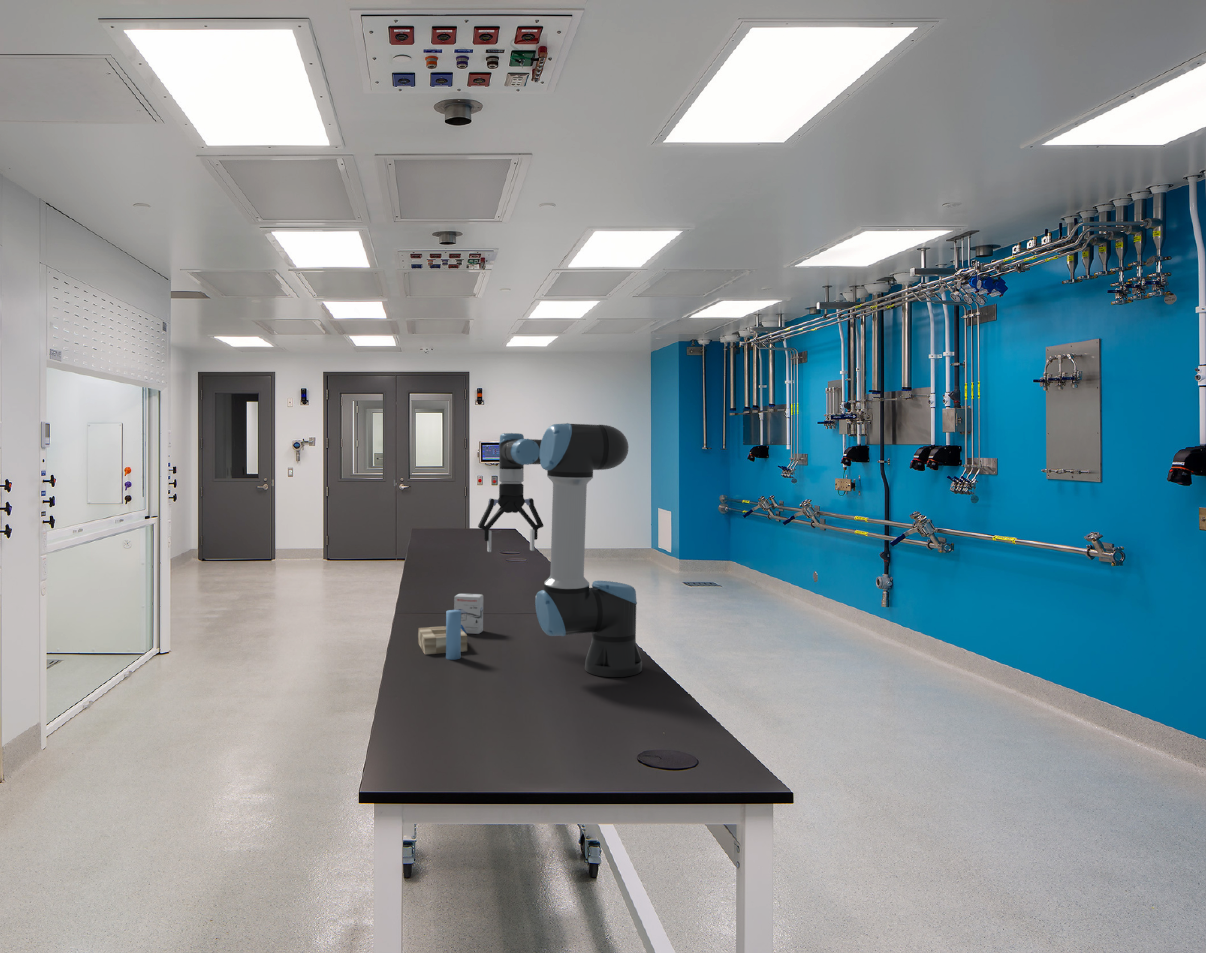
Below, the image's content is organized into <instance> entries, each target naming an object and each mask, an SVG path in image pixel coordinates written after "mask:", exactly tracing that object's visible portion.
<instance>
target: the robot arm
mask: <svg viewBox="0 0 1206 953" xmlns="http://www.w3.org/2000/svg"><path fill="white" fill-rule="evenodd" d="M498 447H499V453H498V454H499V460H498V461H499V462H498V463H499V467H498V468H499V478H498V480H499V482H500V483H499V485H498V491H499V494H498V499H495V498H491V497H490V498H489V499H488V505H487V507H486V509H485V511H484V512H483V514H482V517H481V519H480V522H478V525H477V527H478V529H480V530H483V540H484V541H485V542H487V543H486V544H487V546H486V547H487V548H486V550H487V553H492V533H493V532H492V530H490V529H491V528H492V527H493V526H494V524H495V523H496V522H497V520H499V518H500V517H501V516H502V515H503V514H505V513H506V514H511V513H514V514H517V513H519V514H520V515H521V516H522V517H523V519H524V520H525V521H526V522H527V523H528V524H529V525H530V527H531V529H529V550H530V551H532V552H533V551H534V552H535V541H536V540H538V532H539V531H538V530H539V529H541V528H543V527H544V523H543V521H542V519H541V517H540V515H539V513H538V511H537V508H536V507H535V501H534V499H533V498H531V497H528V498H524V486H525V485H524V483H523V482H524V480H525V479H524V477H525V476H524V466H525V465H526V466H527V465H528V466H529V465H540V467H541V468H542V469H543V470H545V471H546V472H547V473H546V474H547V478H548V479H549V480H550V481H551V482H552V502H551V503H552V509H551V510H552V511H551V542H550V544H551V546H550V574H549V577H548V578H547V579H546V580H544V582H543V583H544V584H543V589H541V590H539V591H537V593H536V595H535V604H534V605H535V606H534V607H535V613H536V617H537V620H538V624H539V627H540V628H541V630H542V631H543V632H544V634H546V635H547V636H550V637H558V636H559V637H560V636H561V637H565V636H572V635H581V634H582V635H583V634H591V642H590V646H589V648H588V652H587V655H586V657H585V659H584V660H585V661H584V670H585V671H586V672H587V673H589V674H591V675H594V676H598V677H605V678H606V677H607V678H624V677H631V676H635V675H638V674H640V673H641V672H642V670H643V662H642V661H643V660H642V657H641V654H640V651H639V648H638V645H637V642H636V641H637V640H636V638H637V635H636V634H637V633H636V632H637V604H638V602H637V591H636V589H635V588H634V587H633V586H632V585H630V584H626V583H623V582H617V581H611V580H609V581H608V580H594V581H593V582H592V584H591V587H590V582H589V580H587V579H586V578H585V552H586V551H585V550H586V549H585V548H586V545H585V544H586V523H587V522H586V516H587V487H588V483H589V482H590V481H591V480H592V479H594V471H600V470H601V471H602V470H605V471H606V470H610V469H611V470H612V469H614V468H616V467H618V466H619V465H621V464H622V463H623V462H624V461H625V460H626V458H627V456H628V452H629V442H628V440H627V437H626V436H625V435H624V433H623V432H622V431H621V430H620V429H618V428H616V427H614V426H611V425H607V424H606V425H605V424H590V423H589V424H587V423H586V424H585V423H583V424H582V423H568V422H567V423H554V424H552V425H551V424H550V425H549V426H548V427H547V429H546V430H545V432H544V434H543V436H542V438H541V439H536V438H535V439H532V438H530V439H529V438H524V434H523V433H512V432H511V433H510V432H509V433H508V432H507V433H505V432H504V433H501V434H500V435H499V443H498ZM525 504H526V506H528V507H529V510H530V512H531V514H532V516H533V518H534V521H535V522H536V523H535V522H534V521H533V519H532V518H531V517H530V515H529V514H528V513H527V512H526V510H525V509H524V508H523V506H524V505H525ZM496 505H498V506H499V508H498V509H497V511H496V512H495V514H493V516H492V517H491V518H490V520H489V521H488V519H489V517H490V514H491V513H492V511H493V510H494V507H496Z"/></svg>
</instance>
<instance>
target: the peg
mask: <svg viewBox="0 0 1206 953" xmlns="http://www.w3.org/2000/svg"><path fill="white" fill-rule="evenodd" d="M445 612H446V613H445V614H446V615H445V617H446V618H445V626H446V653H445V659H446V660H449V661H451V660H452V661H453V660H455V661H456V660H459V659H461V654H462V653H461V611H460V610H454V609H448V610H446V611H445Z"/></svg>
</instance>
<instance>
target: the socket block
mask: <svg viewBox="0 0 1206 953" xmlns="http://www.w3.org/2000/svg"><path fill="white" fill-rule="evenodd" d="M417 632H418V633H417V638H418V639H417V644H418V645H419V647H420V649H421V651H422V652H423V653H424V655H435V654H437V655H438V654H446V625H445V626H443V625H442V626H430V627H429V626H428V627H418V630H417ZM461 652H468V635H467V633H465V632H464V631H463V630H462V629H461Z"/></svg>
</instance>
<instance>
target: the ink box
mask: <svg viewBox="0 0 1206 953" xmlns="http://www.w3.org/2000/svg"><path fill="white" fill-rule="evenodd" d="M453 598H454V599H453V602H454V603H453V604H454V605H453V610H460V611H461V629H462V630H463V631H464V632H465V634H476V635H479V634H480V633H482V632H483V631H484V595H483V594H482V593H481V594H480V593H458V594H455V595H454V597H453Z"/></svg>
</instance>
